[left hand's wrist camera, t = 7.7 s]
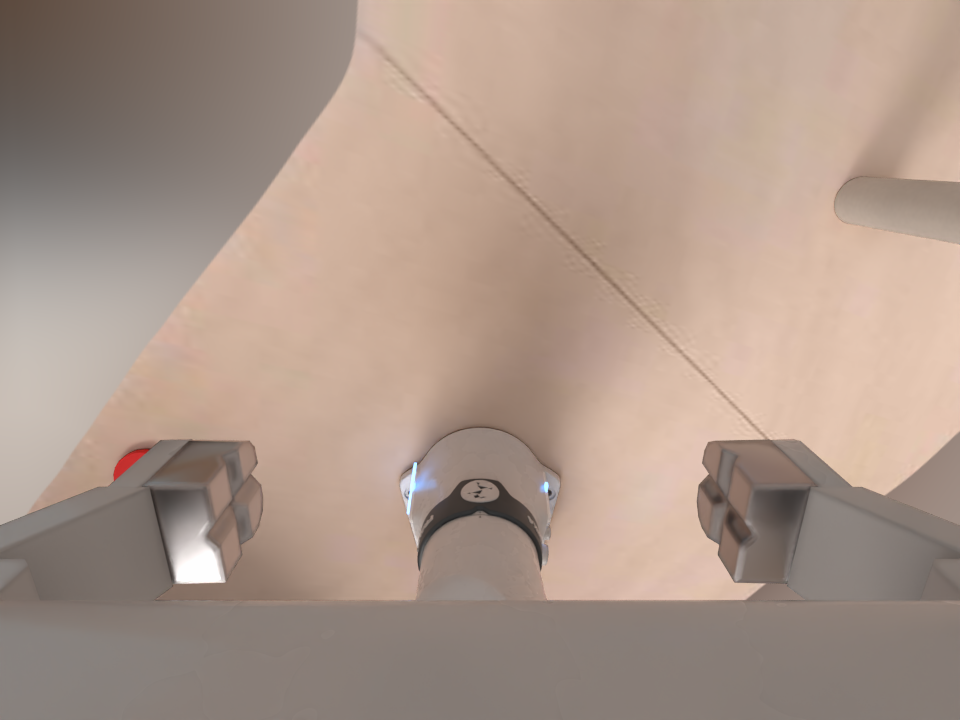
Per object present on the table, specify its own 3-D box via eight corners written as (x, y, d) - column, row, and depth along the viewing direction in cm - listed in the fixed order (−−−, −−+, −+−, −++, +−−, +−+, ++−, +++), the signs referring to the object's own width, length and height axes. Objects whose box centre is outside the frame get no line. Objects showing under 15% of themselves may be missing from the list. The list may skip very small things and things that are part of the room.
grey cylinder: (874, 223, 55) (1054, 254, 38) (829, 224, 55) (988, 255, 38) (885, 176, 54) (1077, 186, 37) (839, 176, 54) (1009, 187, 37)
